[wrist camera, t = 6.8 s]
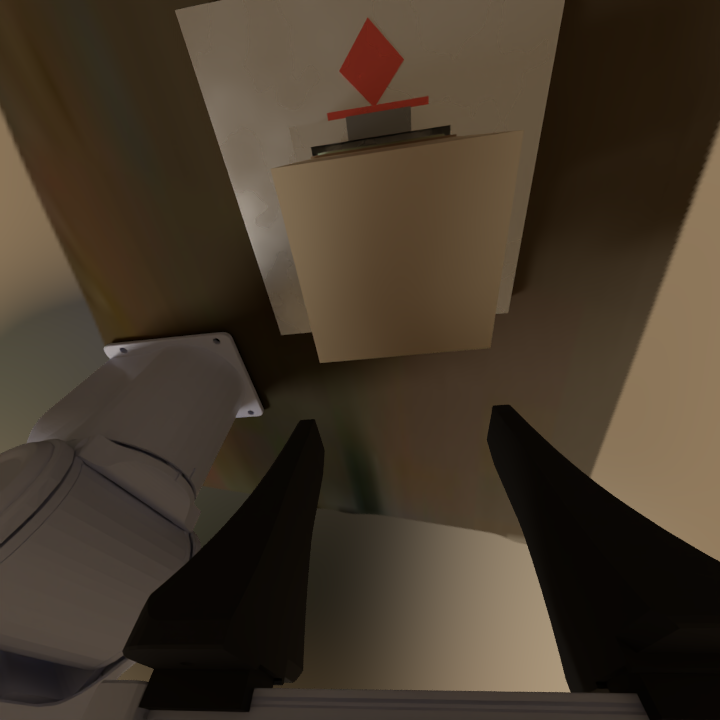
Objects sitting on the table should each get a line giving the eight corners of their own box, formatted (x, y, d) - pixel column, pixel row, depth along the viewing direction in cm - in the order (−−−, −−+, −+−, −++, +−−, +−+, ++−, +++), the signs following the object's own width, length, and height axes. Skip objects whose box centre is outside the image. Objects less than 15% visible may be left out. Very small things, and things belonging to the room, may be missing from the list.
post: (341, 262, 14) (316, 366, 7) (323, 152, 11) (263, 163, 5) (433, 251, 13) (493, 350, 7) (436, 134, 11) (532, 121, 4)
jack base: (286, 323, 20) (261, 379, 15) (194, 23, 12) (81, -55, 7) (499, 301, 19) (543, 354, 14) (555, -51, 11) (702, -206, 6)
